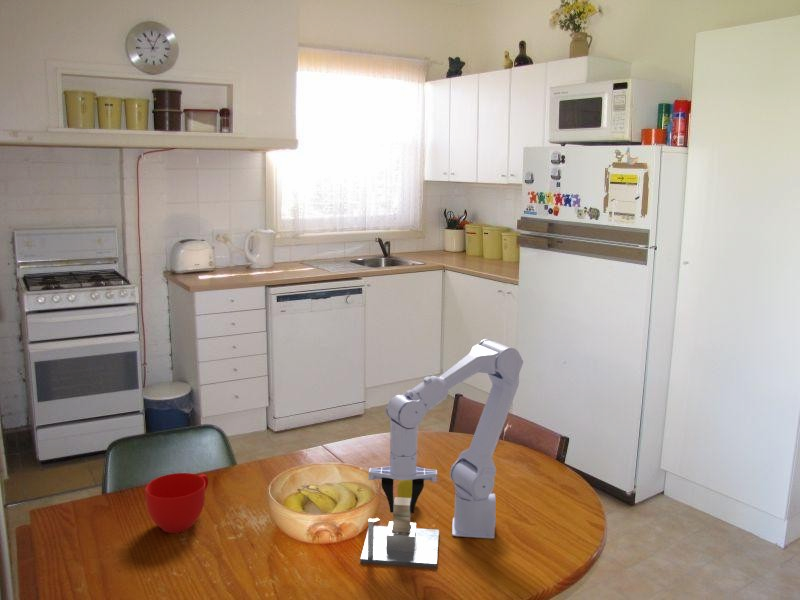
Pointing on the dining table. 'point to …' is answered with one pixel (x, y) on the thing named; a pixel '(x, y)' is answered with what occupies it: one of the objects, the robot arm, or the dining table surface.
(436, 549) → the stand
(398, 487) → the lemon
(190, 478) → the ceramic cup
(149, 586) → the dining table surface
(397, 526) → the block
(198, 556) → the dining table surface
